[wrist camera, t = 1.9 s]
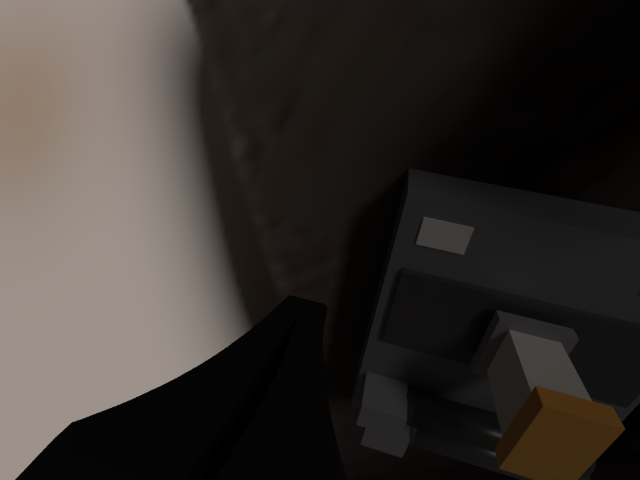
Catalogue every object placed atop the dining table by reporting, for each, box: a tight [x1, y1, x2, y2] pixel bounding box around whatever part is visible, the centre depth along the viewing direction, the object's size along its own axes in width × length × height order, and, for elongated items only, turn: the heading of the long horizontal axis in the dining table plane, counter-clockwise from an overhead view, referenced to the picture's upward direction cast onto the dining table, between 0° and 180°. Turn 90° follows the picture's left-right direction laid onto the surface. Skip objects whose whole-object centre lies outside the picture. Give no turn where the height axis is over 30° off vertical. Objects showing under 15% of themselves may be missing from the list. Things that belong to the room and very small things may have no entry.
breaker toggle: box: [470, 310, 625, 480], centre depth 10 cm, size 2×3×4 cm
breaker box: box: [351, 168, 640, 480], centre depth 13 cm, size 10×11×5 cm
